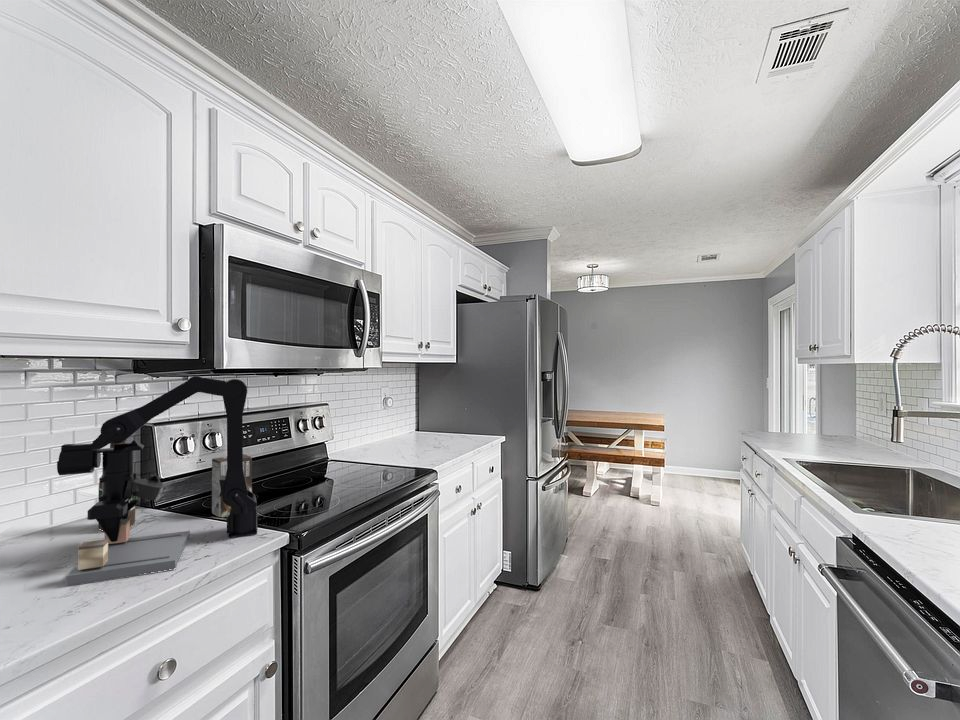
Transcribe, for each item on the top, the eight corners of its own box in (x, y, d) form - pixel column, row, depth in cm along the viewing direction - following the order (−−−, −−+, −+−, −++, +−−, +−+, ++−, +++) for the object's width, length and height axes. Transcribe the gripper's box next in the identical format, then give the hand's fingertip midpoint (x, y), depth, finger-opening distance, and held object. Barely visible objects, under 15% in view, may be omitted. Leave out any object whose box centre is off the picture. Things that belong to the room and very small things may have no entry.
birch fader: (108, 560, 97) (108, 539, 97) (103, 566, 94) (103, 544, 94) (83, 564, 95) (83, 542, 95) (77, 570, 92) (77, 547, 92)
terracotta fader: (130, 537, 110) (130, 518, 110) (126, 541, 107) (126, 522, 107) (108, 539, 108) (108, 520, 108) (104, 544, 105) (104, 524, 105)
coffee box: (243, 506, 142) (243, 453, 142) (252, 510, 138) (253, 456, 138) (210, 513, 135) (211, 458, 135) (219, 518, 131) (220, 461, 131)
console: (189, 538, 115) (189, 530, 115) (175, 569, 98) (175, 559, 98) (99, 550, 108) (99, 541, 108) (66, 586, 91) (66, 575, 91)
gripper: (150, 476, 102) (149, 546, 102) (167, 460, 119) (167, 520, 119) (86, 481, 98) (86, 555, 98) (114, 463, 115) (113, 526, 115)
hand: (117, 537), depth 107 cm, fingers open, 5 cm apart
